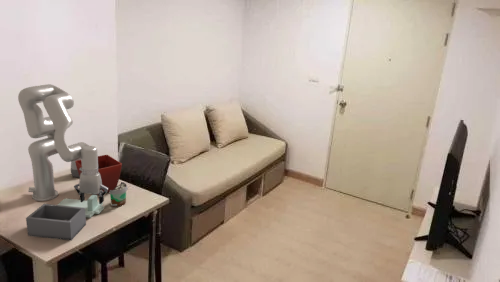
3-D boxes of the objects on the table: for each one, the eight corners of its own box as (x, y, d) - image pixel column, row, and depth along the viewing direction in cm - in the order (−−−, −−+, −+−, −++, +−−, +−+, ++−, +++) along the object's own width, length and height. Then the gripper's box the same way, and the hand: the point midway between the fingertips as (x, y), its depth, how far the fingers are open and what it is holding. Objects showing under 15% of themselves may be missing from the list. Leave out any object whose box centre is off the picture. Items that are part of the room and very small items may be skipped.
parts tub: (27, 235, 177) (25, 218, 174) (45, 220, 190) (43, 203, 187) (71, 240, 176) (70, 222, 173) (86, 224, 189) (84, 207, 186)
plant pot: (76, 187, 226) (74, 160, 221) (108, 180, 239) (107, 154, 234) (90, 200, 213) (88, 171, 208) (123, 191, 226) (122, 164, 221)
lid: (50, 215, 196) (48, 200, 193) (65, 202, 210) (64, 188, 207) (95, 219, 195) (94, 204, 192) (107, 206, 209) (106, 192, 206)
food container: (120, 209, 205) (120, 192, 202) (109, 207, 206) (109, 190, 203) (132, 199, 217) (131, 183, 214) (121, 198, 218) (121, 181, 215)
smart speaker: (73, 172, 246) (72, 151, 242) (89, 172, 247) (88, 151, 243) (68, 178, 237) (67, 156, 233) (84, 178, 238) (83, 157, 234)
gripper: (69, 172, 192) (71, 203, 197) (104, 175, 191) (105, 207, 196) (76, 166, 199) (78, 197, 204) (110, 169, 198) (111, 200, 203)
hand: (92, 202), depth 200 cm, fingers open, 9 cm apart
